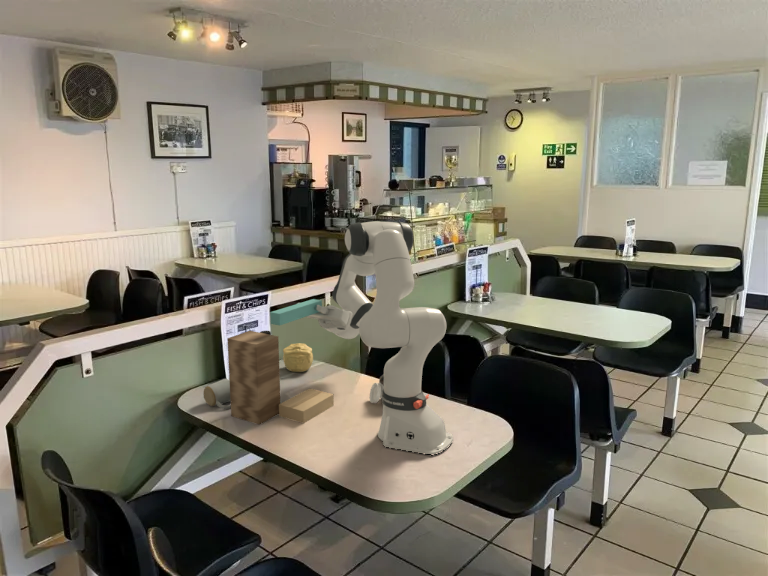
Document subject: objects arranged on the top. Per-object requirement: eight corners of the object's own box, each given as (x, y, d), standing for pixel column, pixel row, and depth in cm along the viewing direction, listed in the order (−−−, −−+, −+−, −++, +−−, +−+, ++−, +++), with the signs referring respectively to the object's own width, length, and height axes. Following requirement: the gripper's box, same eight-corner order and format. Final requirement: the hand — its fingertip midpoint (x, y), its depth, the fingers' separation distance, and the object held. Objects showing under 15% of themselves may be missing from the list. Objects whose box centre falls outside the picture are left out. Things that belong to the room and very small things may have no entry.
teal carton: (322, 311, 202) (321, 300, 201) (279, 325, 183) (279, 313, 182) (313, 309, 203) (313, 299, 203) (270, 323, 185) (270, 312, 184)
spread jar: (412, 403, 198) (412, 370, 196) (387, 412, 191) (387, 378, 188) (388, 392, 207) (388, 361, 204) (363, 401, 200) (363, 369, 197)
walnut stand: (280, 413, 190) (278, 336, 184) (259, 424, 181) (256, 344, 176) (253, 405, 196) (250, 330, 190) (231, 416, 187) (227, 338, 182)
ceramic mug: (202, 403, 196) (201, 382, 195) (223, 396, 202) (222, 375, 201) (220, 413, 190) (219, 391, 188) (241, 405, 196) (240, 384, 194)
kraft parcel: (333, 405, 196) (333, 394, 195) (303, 423, 182) (303, 411, 181) (309, 399, 201) (309, 388, 200) (279, 416, 187) (278, 404, 186)
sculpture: (282, 375, 223) (281, 348, 221) (285, 364, 235) (284, 338, 233) (312, 374, 224) (311, 347, 222) (313, 364, 236) (313, 338, 233)
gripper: (310, 306, 216) (288, 293, 204) (356, 313, 206) (336, 300, 194) (305, 322, 214) (283, 310, 203) (351, 330, 204) (331, 318, 193)
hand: (310, 306), depth 198 cm, fingers closed on teal carton, 4 cm apart
